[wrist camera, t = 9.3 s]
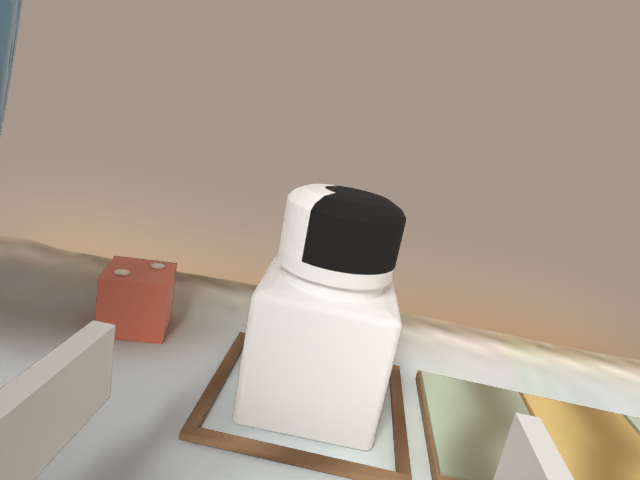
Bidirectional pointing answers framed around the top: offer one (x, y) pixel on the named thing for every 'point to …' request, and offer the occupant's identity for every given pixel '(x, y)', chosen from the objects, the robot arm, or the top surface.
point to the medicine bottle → (324, 320)
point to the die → (136, 298)
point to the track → (495, 422)
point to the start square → (364, 475)
